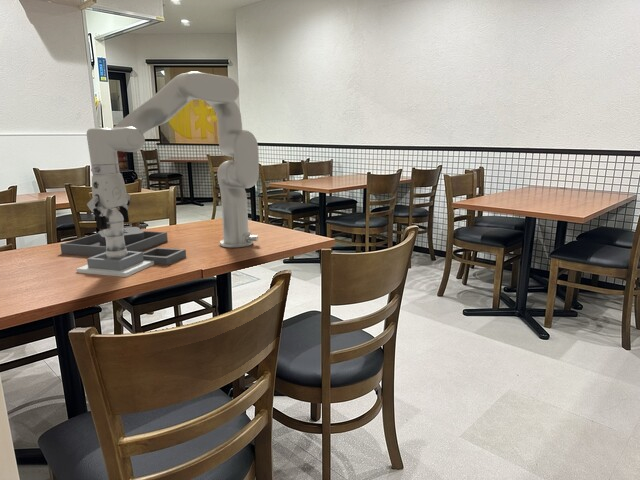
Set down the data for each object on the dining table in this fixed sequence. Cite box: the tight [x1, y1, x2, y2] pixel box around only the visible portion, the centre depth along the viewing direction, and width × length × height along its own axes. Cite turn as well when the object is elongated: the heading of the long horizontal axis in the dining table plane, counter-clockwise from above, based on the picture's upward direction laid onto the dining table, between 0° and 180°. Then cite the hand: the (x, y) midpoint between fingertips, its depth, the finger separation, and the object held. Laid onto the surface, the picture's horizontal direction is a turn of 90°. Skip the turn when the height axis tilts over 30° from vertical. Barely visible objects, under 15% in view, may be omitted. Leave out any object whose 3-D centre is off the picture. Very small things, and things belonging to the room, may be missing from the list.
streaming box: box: [97, 226, 145, 246], centre depth 168 cm, size 14×14×5 cm
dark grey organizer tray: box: [59, 230, 169, 257], centre depth 167 cm, size 26×26×4 cm
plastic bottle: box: [103, 207, 128, 260], centre depth 139 cm, size 6×7×20 cm
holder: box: [142, 246, 187, 266], centre depth 150 cm, size 12×11×2 cm
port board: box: [76, 251, 155, 278], centre depth 141 cm, size 18×14×4 cm
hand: (113, 225), depth 138 cm, fingers open, 9 cm apart
